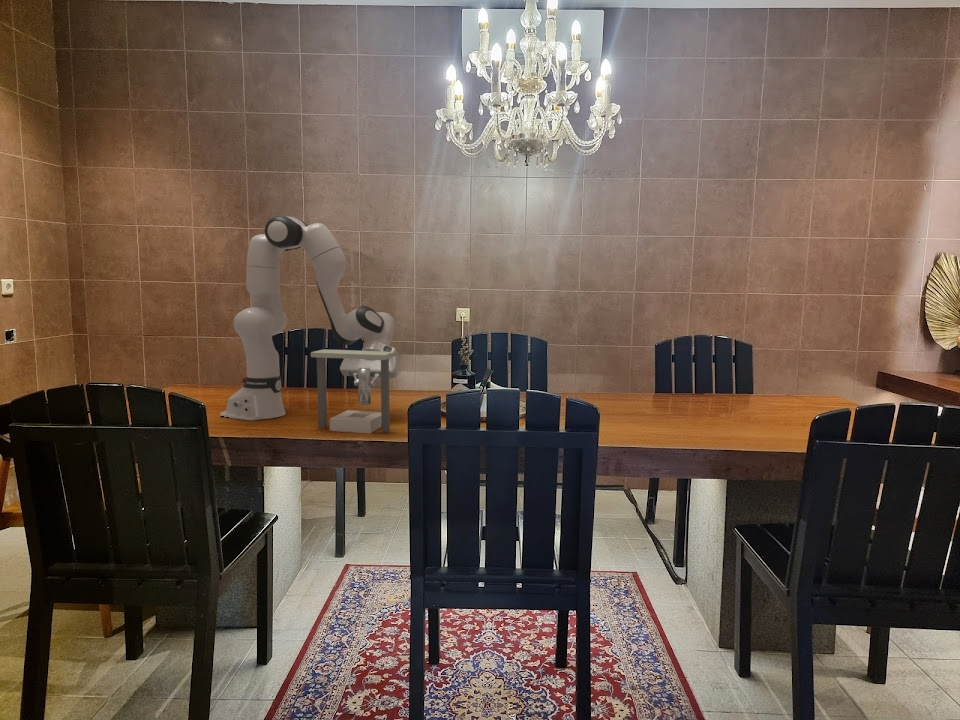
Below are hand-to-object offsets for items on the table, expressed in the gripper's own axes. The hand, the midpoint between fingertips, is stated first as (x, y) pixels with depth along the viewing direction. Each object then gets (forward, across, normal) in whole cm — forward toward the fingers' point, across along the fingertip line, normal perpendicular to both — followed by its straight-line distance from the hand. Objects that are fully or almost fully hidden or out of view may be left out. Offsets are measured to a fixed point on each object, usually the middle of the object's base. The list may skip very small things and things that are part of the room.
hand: (363, 385), depth 216 cm
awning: (+15, 0, +4) cm, 16 cm away
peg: (+4, 0, +5) cm, 6 cm away
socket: (+13, 0, +6) cm, 14 cm away
